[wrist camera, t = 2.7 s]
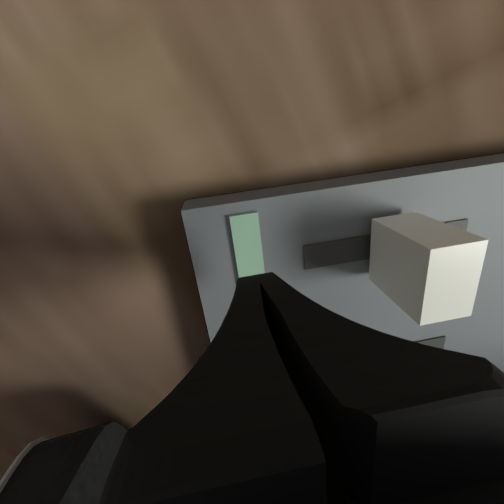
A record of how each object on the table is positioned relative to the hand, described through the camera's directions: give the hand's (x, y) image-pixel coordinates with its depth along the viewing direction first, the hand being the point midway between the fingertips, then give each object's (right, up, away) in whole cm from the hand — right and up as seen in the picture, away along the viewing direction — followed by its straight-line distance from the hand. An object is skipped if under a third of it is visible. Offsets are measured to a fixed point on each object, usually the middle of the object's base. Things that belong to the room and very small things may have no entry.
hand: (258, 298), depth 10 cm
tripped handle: (+6, +2, +3) cm, 7 cm away
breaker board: (+7, -4, +8) cm, 11 cm away
